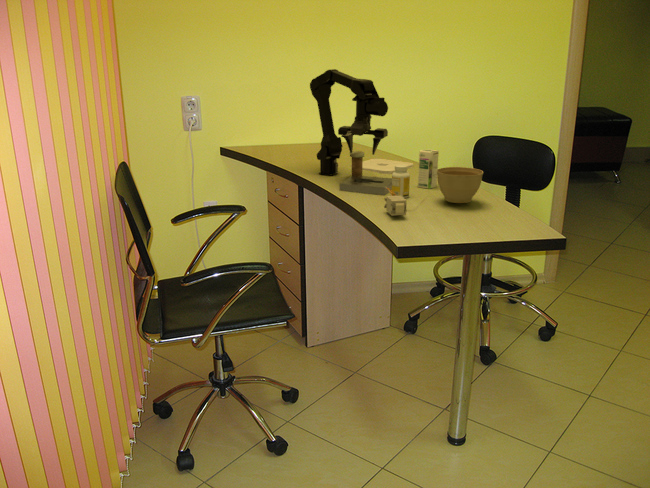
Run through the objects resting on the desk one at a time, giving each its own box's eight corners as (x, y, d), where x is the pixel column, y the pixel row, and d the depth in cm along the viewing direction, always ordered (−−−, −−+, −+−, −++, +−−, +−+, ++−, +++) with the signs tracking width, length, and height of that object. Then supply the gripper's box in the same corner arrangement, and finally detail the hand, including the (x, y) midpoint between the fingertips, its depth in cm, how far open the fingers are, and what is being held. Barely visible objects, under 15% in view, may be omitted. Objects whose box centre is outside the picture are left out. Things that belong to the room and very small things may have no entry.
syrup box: (417, 187, 241) (418, 150, 237) (424, 184, 246) (426, 148, 241) (430, 189, 238) (432, 152, 233) (437, 186, 243) (439, 149, 238)
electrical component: (373, 198, 225) (373, 185, 223) (388, 198, 226) (389, 184, 224) (391, 216, 202) (391, 201, 201) (408, 215, 203) (409, 200, 202)
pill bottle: (410, 195, 229) (411, 164, 225) (407, 199, 223) (408, 168, 220) (393, 194, 231) (394, 163, 227) (389, 198, 225) (390, 166, 222)
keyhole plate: (339, 191, 236) (339, 183, 235) (352, 182, 250) (353, 175, 249) (384, 195, 229) (384, 187, 228) (395, 186, 243) (396, 178, 242)
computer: (390, 177, 260) (390, 171, 259) (347, 171, 272) (347, 165, 271) (415, 169, 276) (415, 163, 275) (374, 163, 289) (374, 158, 288)
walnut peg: (347, 181, 253) (347, 153, 249) (352, 178, 258) (352, 150, 254) (361, 182, 250) (361, 154, 247) (365, 179, 256) (366, 151, 252)
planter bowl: (490, 202, 219) (492, 172, 216) (457, 208, 211) (459, 177, 208) (458, 192, 232) (460, 164, 229) (426, 198, 224) (427, 169, 221)
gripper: (333, 114, 232) (332, 155, 238) (380, 117, 226) (378, 159, 231) (343, 111, 242) (342, 150, 247) (388, 114, 235) (387, 154, 241)
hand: (362, 153), depth 241 cm, fingers open, 9 cm apart
